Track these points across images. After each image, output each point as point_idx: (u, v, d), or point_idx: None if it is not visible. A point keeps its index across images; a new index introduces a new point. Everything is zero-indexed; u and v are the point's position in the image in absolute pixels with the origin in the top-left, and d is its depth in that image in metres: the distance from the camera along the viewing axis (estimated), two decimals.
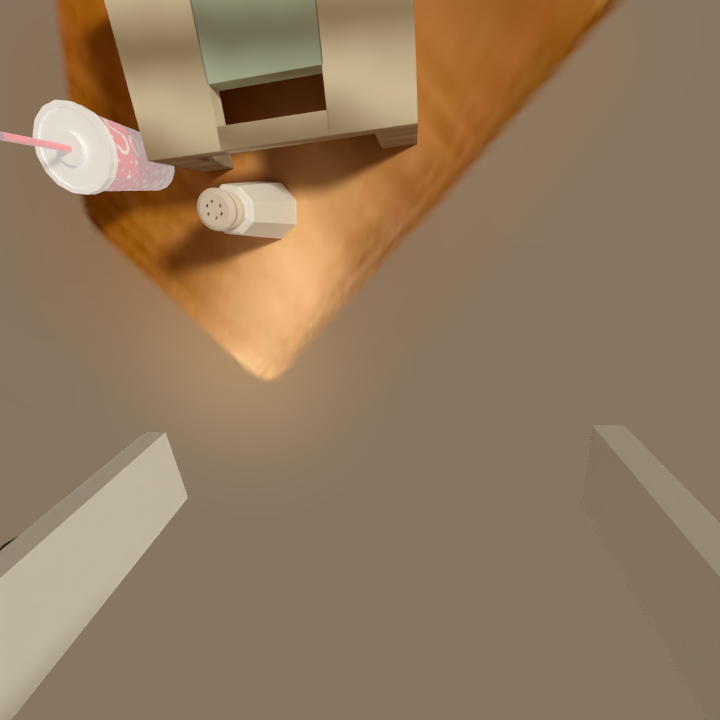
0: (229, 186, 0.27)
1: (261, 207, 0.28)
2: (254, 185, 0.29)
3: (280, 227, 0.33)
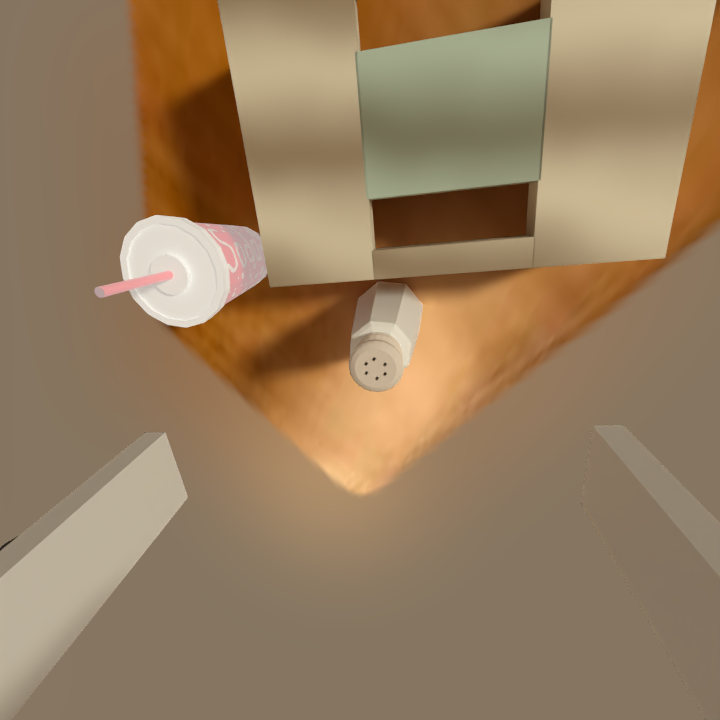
0: (381, 324, 0.20)
1: (413, 342, 0.22)
2: (400, 310, 0.22)
3: None
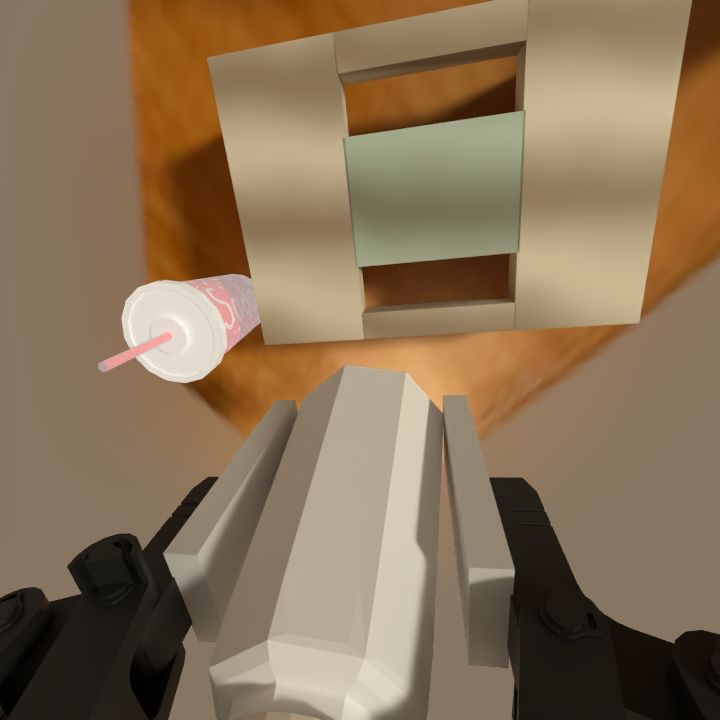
0: (311, 657, 0.05)
1: None
2: (389, 518, 0.07)
3: None
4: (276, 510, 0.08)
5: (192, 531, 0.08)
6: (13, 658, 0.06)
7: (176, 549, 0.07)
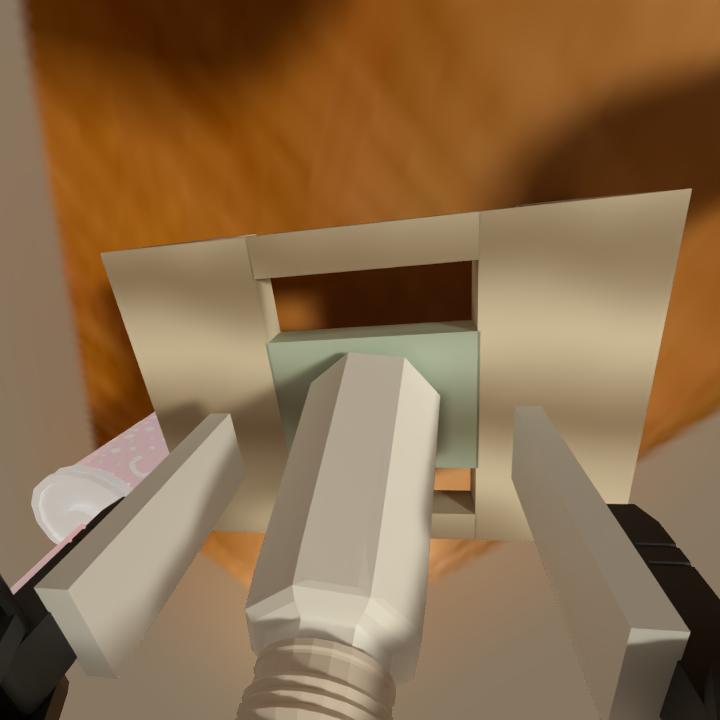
0: (328, 597, 0.06)
1: None
2: (389, 488, 0.08)
3: None
4: (292, 484, 0.09)
5: (73, 562, 0.07)
6: None
7: (49, 583, 0.07)
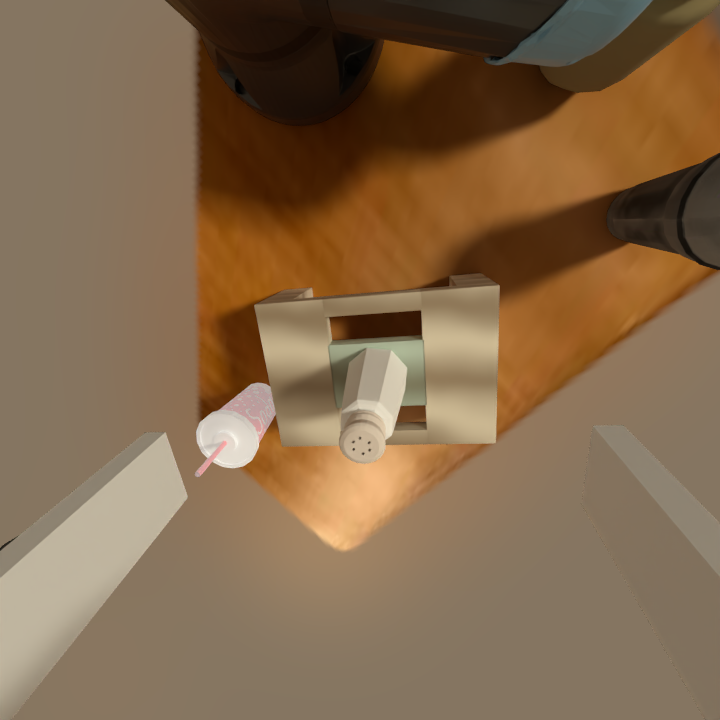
0: (367, 402, 0.23)
1: (395, 413, 0.25)
2: (384, 384, 0.25)
3: None
4: (350, 387, 0.26)
5: None
6: None
7: None
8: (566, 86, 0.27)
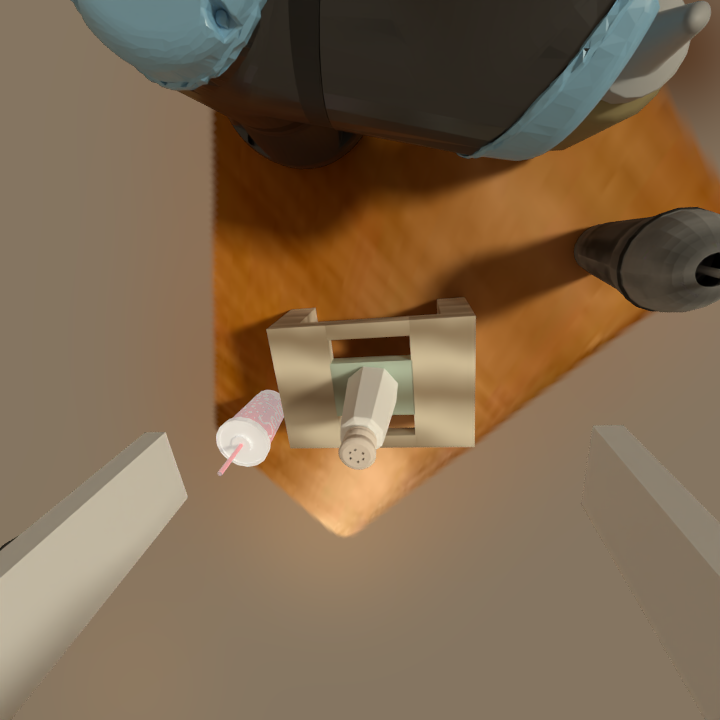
0: (361, 419, 0.29)
1: (385, 426, 0.30)
2: (376, 402, 0.31)
3: None
4: (348, 403, 0.31)
5: None
6: None
7: None
8: None
